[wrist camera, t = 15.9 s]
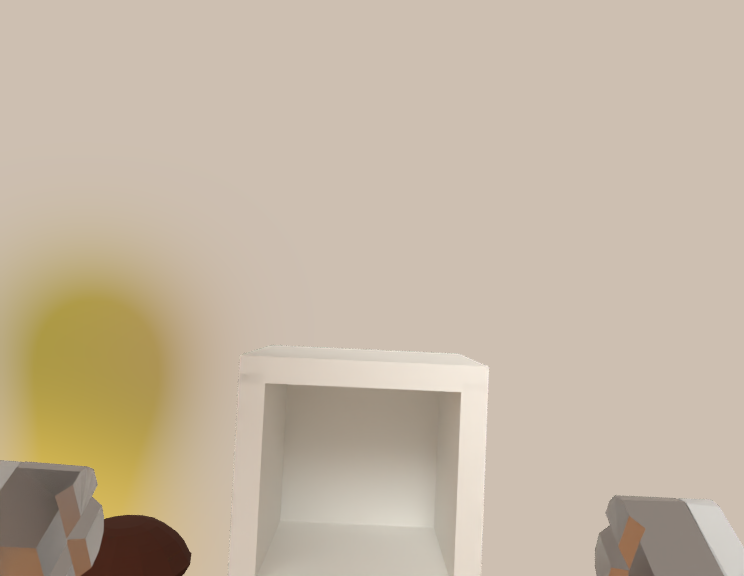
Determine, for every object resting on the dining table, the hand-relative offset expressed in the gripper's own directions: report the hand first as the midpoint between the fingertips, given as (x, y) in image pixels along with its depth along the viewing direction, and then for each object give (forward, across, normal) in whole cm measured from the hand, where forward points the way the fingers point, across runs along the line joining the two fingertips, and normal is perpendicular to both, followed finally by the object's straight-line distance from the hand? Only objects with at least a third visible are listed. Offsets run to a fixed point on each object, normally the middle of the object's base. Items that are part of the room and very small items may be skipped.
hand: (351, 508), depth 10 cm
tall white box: (+15, 0, +38) cm, 41 cm away
